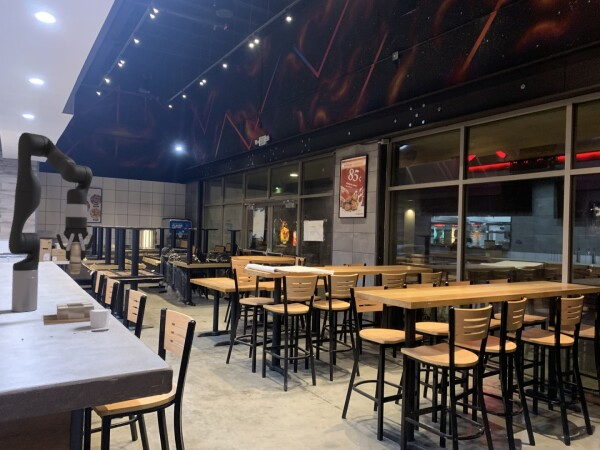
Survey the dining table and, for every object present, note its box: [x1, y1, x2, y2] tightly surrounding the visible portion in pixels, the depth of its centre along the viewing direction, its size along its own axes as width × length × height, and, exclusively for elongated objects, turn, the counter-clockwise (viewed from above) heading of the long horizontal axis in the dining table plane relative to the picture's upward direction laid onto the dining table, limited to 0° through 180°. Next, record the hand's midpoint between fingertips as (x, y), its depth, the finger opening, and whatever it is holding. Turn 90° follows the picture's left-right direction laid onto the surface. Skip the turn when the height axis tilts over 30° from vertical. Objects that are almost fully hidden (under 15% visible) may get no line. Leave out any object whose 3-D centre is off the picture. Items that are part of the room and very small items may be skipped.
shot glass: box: [89, 308, 112, 333], centre depth 149 cm, size 7×7×7 cm
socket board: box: [42, 301, 95, 326], centre depth 161 cm, size 20×17×6 cm
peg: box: [68, 242, 82, 275], centre depth 166 cm, size 4×4×12 cm
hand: (75, 260), depth 166 cm, fingers closed on peg, 4 cm apart
